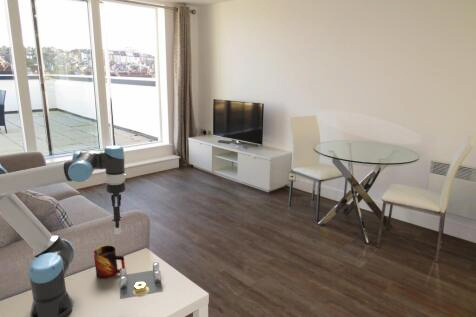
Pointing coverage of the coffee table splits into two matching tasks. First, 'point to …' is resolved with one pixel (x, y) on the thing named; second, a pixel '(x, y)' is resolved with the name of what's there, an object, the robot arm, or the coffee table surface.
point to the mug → (107, 262)
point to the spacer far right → (155, 266)
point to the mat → (140, 277)
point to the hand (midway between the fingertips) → (117, 233)
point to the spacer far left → (123, 272)
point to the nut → (139, 287)
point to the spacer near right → (157, 276)
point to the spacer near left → (123, 282)
